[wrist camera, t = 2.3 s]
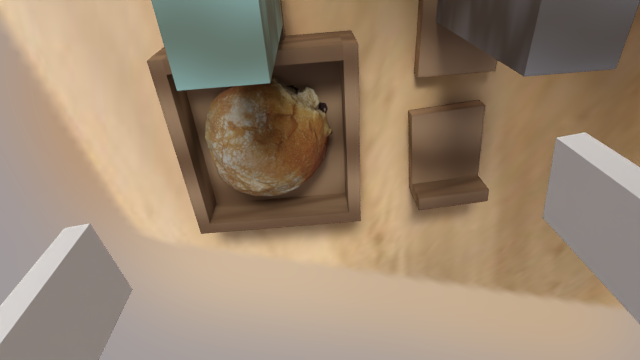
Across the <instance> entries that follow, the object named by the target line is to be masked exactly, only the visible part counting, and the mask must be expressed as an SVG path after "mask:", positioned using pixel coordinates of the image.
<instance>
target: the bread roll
mask: <svg viewBox="0 0 640 360" xmlns="http://www.w3.org/2000/svg"><path fill="white" fill-rule="evenodd" d="M327 109H328V108H327V105H326V103H322V102H320V97H318V96H317V94H316V92H315V91H314V90H313V89H311V88H309V87H306V89H304V90H303V91H302V92H300V90H299V89H298V88H296V87H294V86H293V85H289V86H288V85H287V84H284V83H282V82H281V81H280V80H279V79H278V78H277V77H275V76H272V77H271V82H270V83H267V84H254V85H242V86H230V87H229V88H227V89H225V90H224V91H222V92H221V93H220V94H219V95H218V96H217V97H216V98H215V99H214V100H213V101H212V103H211V106H210V109H209V110H208V113H207V120H206V122H205V123H206V125H205V130H206V132H205V139H206V141H207V144H208V148H209V149H210V153H211V156H212V159H213V161H214V164H215V167H216V170H217V172H218V174H219V176H220V178H221V179H222V181H223V182H225V183H226V184H227V185H228V186H229V187H231V188H233V189H234V190H237V191H239V192H242V193H246V194H249V195H254V196H276V195H281V194H284V193H287V192H289V191H291V190H293V189H296V188H298V187H300V186H301V185H302V184H303V183H305V182H306V181H307V180H308V179H309V178H310V177H312V176H313V174H314V173H315V171H316V170H317V169H318V167H319V166H320V165H321V163H322V161H323V158H324V157H326V151H327V148H328V145H329V135H330V134H332V132H333V131H332V129H331V127H330V126H329V124H328V121H327V116H326V114H325V113H326V112H327Z"/></svg>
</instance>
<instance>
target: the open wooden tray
mask: <svg viewBox="0 0 640 360" xmlns="http://www.w3.org/2000/svg"><path fill="white" fill-rule="evenodd" d="M151 1H152V5H153V8H154V12H155V15H156V19H157V22H158V26H159V29H160V33H161V36H162V40H163V43H164V48H162V49H161V50H160V51H159V52H157V53H156V54H155V55H154V56H152V57H151V58H150V59H149V60H147V63H148V66H149V69H150V73H151V76H152V79H153V82H154V85H155V88H156V92H157V95H158V98H159V101H160V104H161V108H162V111H163V114H164V117H165V120H166V123H167V127H168V130H169V133H170V136H171V139H172V143H173V146H174V149H175V152H176V155H177V158H178V162H179V165H180V168H181V171H182V174H183V177H184V181H185V184H186V187H187V190H188V193H189V197H190V200H191V203H192V206H193V209H194V212H195V216H196V219H197V222H198V225H199V228H200V232H201V234H204V233H216V232H229V231H241V230H254V229H266V228H279V227H291V226H303V225H316V224H328V223H341V222H353V221H361V216H360V142H359V67H358V42H357V41H356V39H355V37H354V35H353V33H352V31H340V32H327V33H315V34H303V35H291V36H285V32H284V23H283V14H282V6H281V0H151ZM272 76H275V77H277V78H278V79H279V80H280V81H281V82H282V83H284V84H287V85H288V86H289V85H293V86H294V87H296V88H298V89H299V90H300V92H302V91H303V90H304V89H306V87H309V88H311V89H313V90H314V91H315V92H316V94H317V96H318V97H320V102H322V103H326V105H327V108H328V109H327V112H326V113H325V114H326V116H327V121H328V124H329V126H330V127H331V129H332V131H333V132H332V134H330V135H329V145H328V148H327V151H326V157H324V158H323V161H322V163H321V165H320V166H319V167H318V169H317V170H316V171H315V173H314V174H313V176H312V177H310V178H309V179H308V180H307V181H306V182H305V183H303V184H302V185H301V186H300V187H298V188H296V189H293V190H291V191H289V192H287V193H284V194H281V195H276V196H254V195H249V194H246V193H242V192H239V191H237V190H234V189H233V188H231V187H229V186H228V185H227V184H226V183H225V182H223V181H222V179H221V178H220V176H219V174H218V172H217V170H216V167H215V164H214V161H213V159H212V156H211V153H210V149H209V148H208V144H207V141H206V139H205V132H206V130H205V125H206V123H205V122H206V120H207V113H208V110H209V109H210V106H211V103H212V101H213V100H214V99H215V98H216V97H217V96H218V95H219V94H220V93H221V92H222V91H224V90H225V89H227V88H229V87H230V86H242V85H254V84H267V83H270V82H271V77H272Z"/></svg>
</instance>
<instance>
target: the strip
mask: <svg viewBox="0 0 640 360" xmlns="http://www.w3.org/2000/svg"><path fill="white" fill-rule="evenodd" d="M484 112H485V105H484V104H483V103H482V102H481V101H480V100H477V101H470V102H463V103H457V104H450V105H443V106H436V107H429V108H422V109H415V110H409V111H408V116H409V188H410V190H411V192H412V195H413V197H414V199H415V202H416V204H417V206H418V209H419V210H424V209H432V208H439V207H446V206H454V205H461V204H469V203H476V202H483V201H487V200H488V193H489V189H488V188H487V187H486V185H485V184H484V183H483V181H482V180H481V179H480V177H479V176H478V169H479V160H480V150H481V141H482V131H483V122H484Z"/></svg>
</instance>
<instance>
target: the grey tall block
mask: <svg viewBox="0 0 640 360" xmlns="http://www.w3.org/2000/svg"><path fill="white" fill-rule="evenodd" d="M639 3H640V0H419V8H418V22H417V37H416V52H415V67H414V73H415V74H416V76H417V77H429V76H441V75H454V74H466V73H478V72H491V71H495V68H496V63H497V60H498V61H500V62H502V63H503V64H505V65H506V66H508V67H510V68H511V69H513V70H514V71H516V72H518V73H519V74H521V75H522V76H536V75H549V74H561V73H573V72H586V71H598V70H610V69H616V67H617V64H618V62H619V59H620V56H621V53H622V50H623V48H624V45H625V42H626V39H627V36H628V34H629V31H630V28H631V25H632V22H633V20H634V17H635V14H636V11H637V8H638V6H639Z"/></svg>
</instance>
